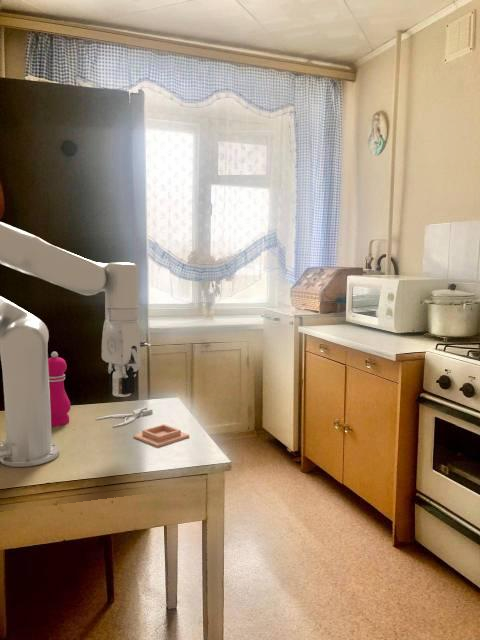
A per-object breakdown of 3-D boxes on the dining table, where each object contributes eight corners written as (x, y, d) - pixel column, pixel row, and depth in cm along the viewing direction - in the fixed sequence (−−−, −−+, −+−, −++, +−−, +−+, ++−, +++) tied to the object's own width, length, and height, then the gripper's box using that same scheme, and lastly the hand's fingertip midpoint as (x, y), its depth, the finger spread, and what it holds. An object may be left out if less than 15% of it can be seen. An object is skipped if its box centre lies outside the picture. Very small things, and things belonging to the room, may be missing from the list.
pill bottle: (122, 398, 120) (122, 365, 119) (108, 395, 123) (108, 363, 122) (135, 394, 124) (135, 362, 123) (121, 391, 126) (121, 360, 125)
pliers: (95, 415, 146) (139, 404, 156) (95, 420, 146) (139, 409, 156) (114, 423, 139) (159, 411, 149) (114, 429, 139) (159, 416, 149)
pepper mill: (37, 425, 141) (34, 353, 138) (55, 417, 147) (52, 348, 145) (60, 428, 138) (56, 354, 136) (76, 420, 145) (73, 350, 143)
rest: (157, 447, 124) (157, 440, 124) (133, 437, 131) (133, 430, 131) (189, 437, 132) (189, 430, 131) (165, 428, 138) (165, 421, 138)
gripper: (88, 313, 124) (89, 387, 126) (128, 319, 113) (128, 401, 115) (115, 311, 130) (116, 382, 132) (156, 317, 118) (156, 395, 120)
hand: (121, 390), depth 123 cm, fingers closed on pill bottle, 4 cm apart
